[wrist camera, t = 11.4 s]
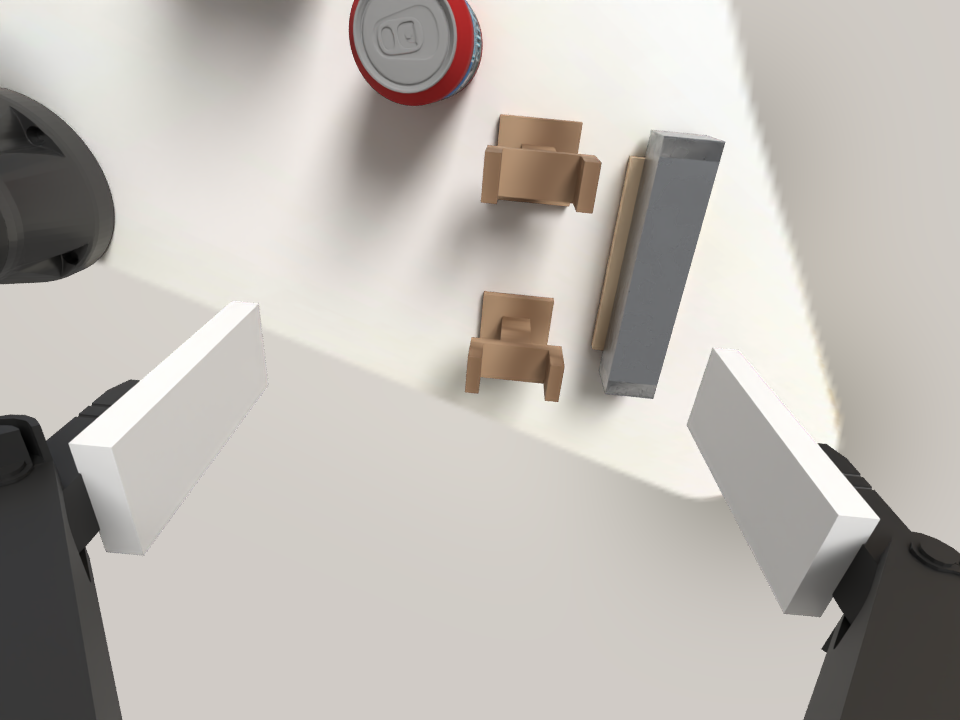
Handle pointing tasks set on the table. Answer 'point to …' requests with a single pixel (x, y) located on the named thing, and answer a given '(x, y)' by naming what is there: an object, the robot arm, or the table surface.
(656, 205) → the rail
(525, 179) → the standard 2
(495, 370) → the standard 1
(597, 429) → the table surface
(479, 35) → the beverage can
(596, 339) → the light wooden board
